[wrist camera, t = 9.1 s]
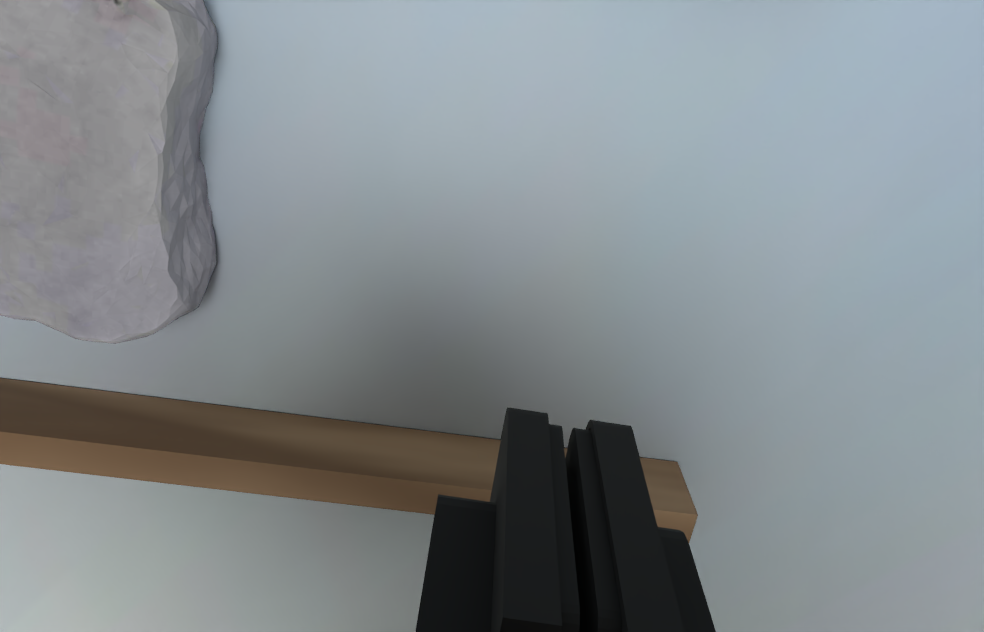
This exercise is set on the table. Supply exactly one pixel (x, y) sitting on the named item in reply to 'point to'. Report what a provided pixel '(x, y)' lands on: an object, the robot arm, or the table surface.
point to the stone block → (104, 164)
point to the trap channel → (267, 451)
